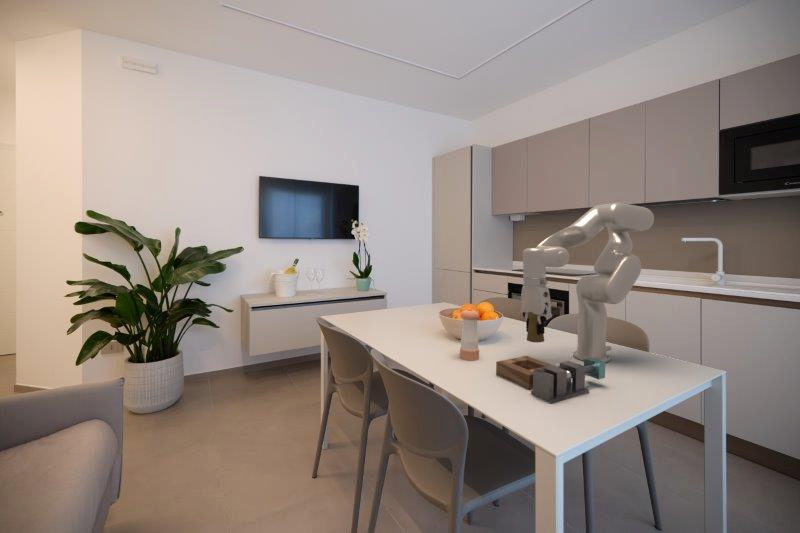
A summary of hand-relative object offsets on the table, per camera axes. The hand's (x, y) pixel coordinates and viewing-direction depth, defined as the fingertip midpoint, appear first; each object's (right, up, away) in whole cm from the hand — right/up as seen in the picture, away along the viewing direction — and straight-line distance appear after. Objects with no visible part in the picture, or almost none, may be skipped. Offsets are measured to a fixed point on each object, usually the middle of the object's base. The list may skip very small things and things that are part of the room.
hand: (535, 332), depth 129 cm
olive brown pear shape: (0, -3, 0) cm, 3 cm away
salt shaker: (-22, -12, +9) cm, 26 cm away
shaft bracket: (-2, -13, -25) cm, 28 cm away
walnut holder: (-8, -13, -13) cm, 20 cm away
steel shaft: (+5, -10, -21) cm, 24 cm away
